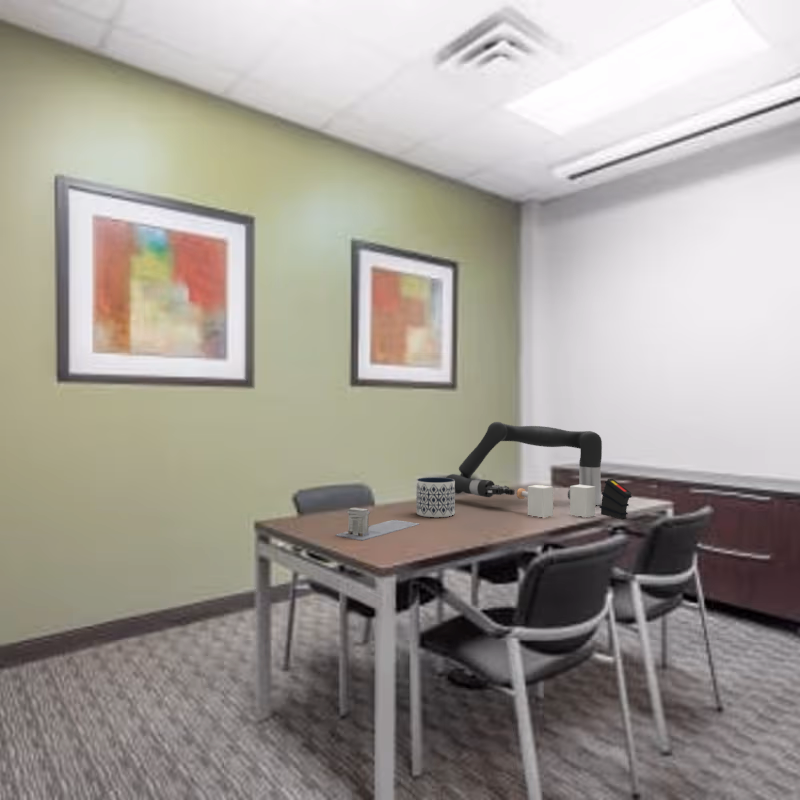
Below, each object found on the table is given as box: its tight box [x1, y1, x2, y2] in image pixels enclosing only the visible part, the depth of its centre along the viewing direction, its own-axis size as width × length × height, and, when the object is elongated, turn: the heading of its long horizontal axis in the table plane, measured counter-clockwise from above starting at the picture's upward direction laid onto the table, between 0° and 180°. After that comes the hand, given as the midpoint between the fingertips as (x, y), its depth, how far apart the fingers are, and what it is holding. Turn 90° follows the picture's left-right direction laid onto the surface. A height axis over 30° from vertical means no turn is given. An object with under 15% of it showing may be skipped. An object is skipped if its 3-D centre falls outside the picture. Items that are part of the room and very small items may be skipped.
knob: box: [516, 487, 528, 500], centre depth 249 cm, size 4×8×4 cm, turn 42°
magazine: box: [599, 478, 632, 519], centre depth 244 cm, size 4×13×15 cm, turn 28°
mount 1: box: [527, 484, 554, 518], centre depth 244 cm, size 7×8×12 cm
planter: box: [415, 476, 456, 519], centre depth 247 cm, size 16×16×14 cm
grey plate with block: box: [335, 507, 420, 542], centre depth 217 cm, size 12×33×10 cm, turn 143°
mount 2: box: [569, 484, 596, 518], centre depth 246 cm, size 7×8×12 cm
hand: (513, 492), depth 254 cm, fingers closed
